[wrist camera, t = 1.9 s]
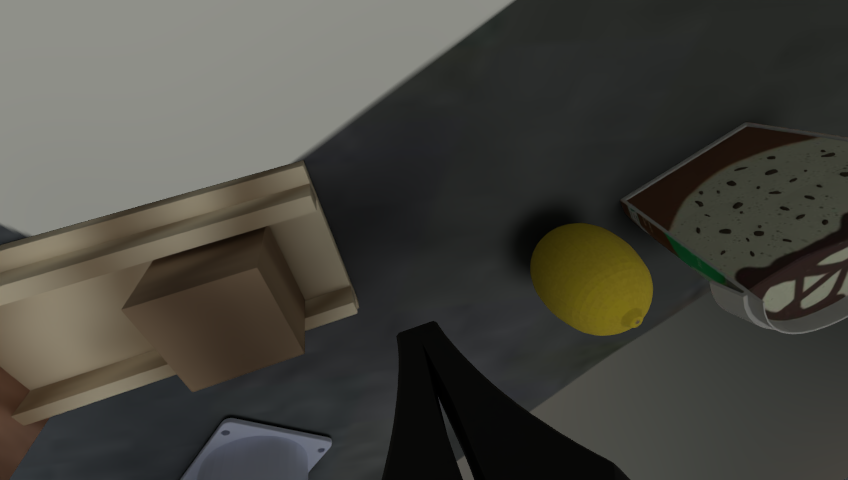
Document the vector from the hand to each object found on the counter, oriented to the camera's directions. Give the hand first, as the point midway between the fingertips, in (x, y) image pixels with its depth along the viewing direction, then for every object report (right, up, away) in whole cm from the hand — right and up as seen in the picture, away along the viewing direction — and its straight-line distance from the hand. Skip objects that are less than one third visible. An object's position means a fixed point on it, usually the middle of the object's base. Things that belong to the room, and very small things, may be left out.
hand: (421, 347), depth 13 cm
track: (-13, +1, +6) cm, 15 cm away
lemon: (+8, +4, +12) cm, 15 cm away
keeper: (-9, +2, +6) cm, 11 cm away
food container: (+18, +7, +13) cm, 23 cm away
